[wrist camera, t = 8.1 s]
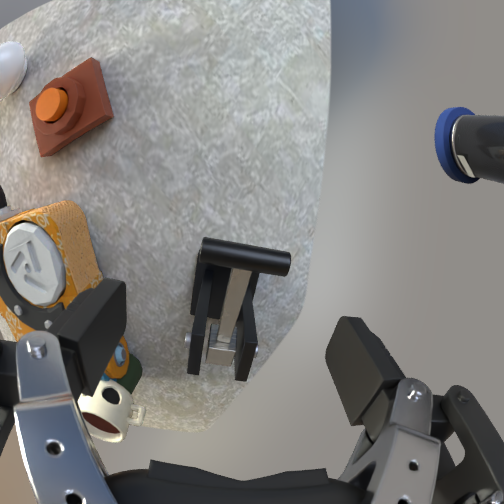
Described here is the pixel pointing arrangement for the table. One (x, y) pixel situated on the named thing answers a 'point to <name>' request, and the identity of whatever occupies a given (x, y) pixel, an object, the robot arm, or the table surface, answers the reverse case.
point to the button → (51, 104)
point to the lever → (236, 288)
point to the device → (47, 269)
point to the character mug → (113, 405)
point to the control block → (73, 108)
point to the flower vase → (11, 67)
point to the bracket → (210, 305)
